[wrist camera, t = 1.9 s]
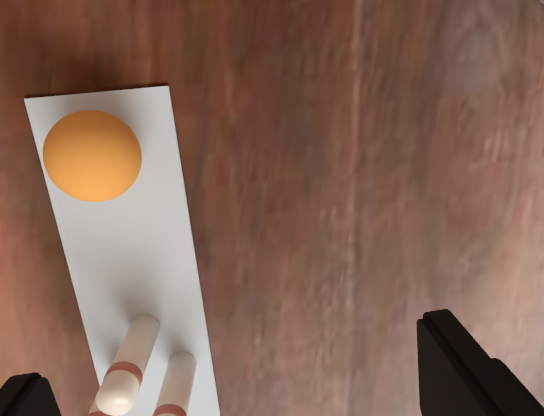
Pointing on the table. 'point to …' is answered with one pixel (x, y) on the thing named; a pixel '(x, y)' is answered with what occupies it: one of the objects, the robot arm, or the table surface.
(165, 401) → the pin
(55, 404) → the robot arm
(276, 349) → the table surface
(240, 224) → the table surface
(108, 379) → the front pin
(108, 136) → the ball
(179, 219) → the plate
